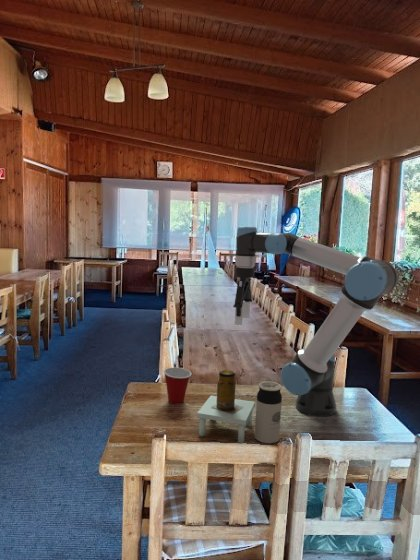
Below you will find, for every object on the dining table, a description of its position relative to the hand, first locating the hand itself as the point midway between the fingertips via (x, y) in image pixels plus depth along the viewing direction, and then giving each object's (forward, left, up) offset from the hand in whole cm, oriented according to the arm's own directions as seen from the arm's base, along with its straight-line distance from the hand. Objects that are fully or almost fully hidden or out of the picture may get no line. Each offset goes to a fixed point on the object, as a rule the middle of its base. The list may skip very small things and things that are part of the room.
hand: (242, 321), depth 174 cm
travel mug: (-16, +29, -32) cm, 46 cm away
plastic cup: (+22, +11, -32) cm, 40 cm away
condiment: (-2, +28, -24) cm, 37 cm away
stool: (-2, +28, -32) cm, 42 cm away
